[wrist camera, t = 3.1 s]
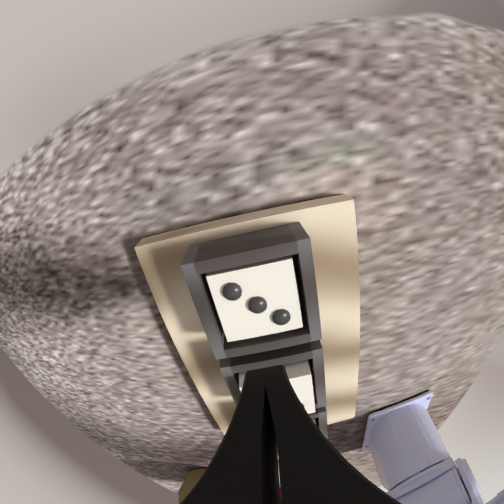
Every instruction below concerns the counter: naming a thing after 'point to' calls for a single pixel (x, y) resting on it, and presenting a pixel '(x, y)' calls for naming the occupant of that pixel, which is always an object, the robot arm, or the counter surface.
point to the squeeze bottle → (190, 483)
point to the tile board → (309, 292)
